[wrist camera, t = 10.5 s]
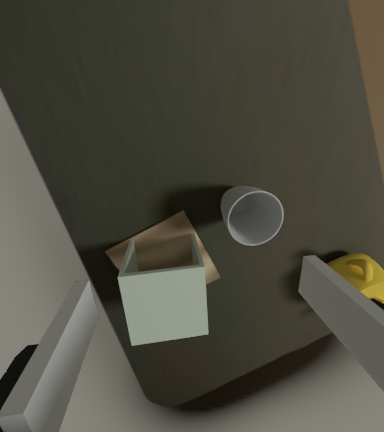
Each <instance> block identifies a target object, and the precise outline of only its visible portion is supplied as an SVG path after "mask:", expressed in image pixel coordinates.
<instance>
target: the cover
mask: <svg viewBox="0 0 384 432" xmlns="http://www.w3.org/2000/svg"><path fill="white" fill-rule="evenodd" d="M191 242H192V256H193V265H191V266H183V267H175V268H167V269H158V270H150V271H142V272H139V270H138V264H137V258H136V252H135V246H134V240H130V242H129V245H128V248H127V251H126V254H125V257H124V260H123V263H122V266H121V269H120V272H119V275H118V282H119V286H120V291H121V296H122V301H123V306H124V311H125V315H126V320H127V325H128V330H129V335H130V340H131V344H132V346H133V345H140V344H147V343H153V342H160V341H167V340H174V339H180V338H187V337H194V336H200V335H207V334H208V317H207V299H206V281H205V266H204V263H203V260H202V256H201V253H200V250H199V247H198V244H197V241H196V238H195V234H194V233H191Z"/></svg>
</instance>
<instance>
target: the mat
mask: <svg viewBox="0 0 384 432" xmlns="http://www.w3.org/2000/svg"><path fill="white" fill-rule="evenodd" d="M191 233H194V234H195V238H196V241H197V244H198V247H199V250H200V253H201V256H202V260H203V263H204V266H205V281H206V284H208V283H210V282H212V281H214V280H216V279H218V278H220V275H219V273H218V272H217V270H216V268H215V266H214V264H213V263H212V261H211V259H210V257H209V255H208V253H207V252H206V250H205V248H204V246H203V244H202V243H201V241H200V239H199V237H198V235H197V234H196V232H195V230H194V228H193V226H192V225H191V223H190V221H189V219H188V217H187V215H186V214H185V212H184V210H182V211H180V212H178V213H176V214H174V215H173V216H171V217H169V218H167V219H165V220H163V221H161V222H159V223H157V224H155V225H153V226H152V227H150V228H148V229H146V230H144V231H142V232H140V233H138V234H136V235H134V236H132V237H130V238H129V239H127V240H125V241H123V242H121V243H119V244H117V245H115V246H113V247H111V248H109V249H107V250H106V251H105V253H106V254H107V255H108V257H109V258H110V259H111V260H112V262H113V263H114V264H115V266H116V267H117V268H118V270H119V271H120V269H121V266H122V263H123V260H124V257H125V254H126V251H127V248H128V245H129V242H130V240H134V246H135V252H136V258H137V264H138V270H139V272H142V271H150V270H158V269H167V268H175V267H183V266H191V265H193V256H192V242H191Z"/></svg>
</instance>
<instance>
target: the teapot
mask: <svg viewBox="0 0 384 432" xmlns="http://www.w3.org/2000/svg"><path fill="white" fill-rule="evenodd" d="M327 265H328V266H329V267H330V268H332V269H333V270H334V271H335V272H336V273H338V274H339V275H340V276H341V277H343V278H344V279H345V280H346V281H348V282H349V283H350V284H351V285H353V286H354V287H355V288H356V289H358V290H359V291H360V292H361V293H363V294H364V295H365V296H366V297H368V298H369V299H372V298H374V299H376V300H378V301H380V302H382V303H384V270H383V269H382V268H381V267H380V266H379V265H378V264H377V263H376V262H375V261H374V260H373V259H371V258H370V257H368V256H367V255H365V254H361V253H351V254H348V255H345V256H342V257H339V258H337V259H335V260H333V261H331V262H329V263H327Z"/></svg>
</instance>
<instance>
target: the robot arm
mask: <svg viewBox="0 0 384 432" xmlns="http://www.w3.org/2000/svg"><path fill="white" fill-rule="evenodd" d="M298 292H299V293H300V294H301V296H302V297H303V298H304V299H305V300H306V301H307V303H308V304H309V305H310V306H311V307H312V308H313V310H314V311H315V312H316V313H317V314H318V315H319V317H320V318H321V319H322V320H323V321H324V322H325V324H326V325H327V326H328V327H329V328H330V329H331V331H332V332H333V333H334V334H335V335H336V336H337V338H338V339H339V340H340V341H341V342H342V343H343V345H344V346H345V347H346V348H347V349H348V350H349V352H350V353H351V354H352V355H353V356H354V358H355V359H356V360H357V361H358V362H359V363H360V365H361V366H362V367H363V368H364V369H365V370H366V372H367V373H368V374H369V375H370V376H371V377H372V379H374V381H375V382H376V383H377V384H378V386H379V387H380V388H381V389H382V390H383V391H384V303H382V302H380V301H378V300H376V299H374V298H372V299H369V298H368V297H366V296H365V295H364V294H363V293H361V292H360V291H359V290H358V289H356V288H355V287H354V286H353V285H351V284H350V283H349V282H348V281H346V280H345V279H344V278H343V277H341V276H340V275H339V274H338V273H336V272H335V271H334V270H333V269H332V268H330V267H329V266H328V265H327V264H325V263H324V262H323V261H322V260H320V259H319V258H318V257H317V256H315V255H311V256H303V263H302V270H301V277H300V283H299V290H298ZM97 319H98V314H97V310H96V306H95V302H94V298H93V294H92V290H91V286H90V281H89V280H84V281H76V282H75V283H74V285H73V286H72V288H71V290H70V291H69V293H68V295H67V297H66V298H65V300H64V302H63V304H62V306H61V307H60V309H59V310H58V312H57V314H56V316H55V317H54V319H53V321H52V323H51V324H50V326H49V328H48V329H47V331H46V333H45V335H44V336H43V338H42V340H41V341H40V343H39V344H36V345H28V346H27V347H25V349H23V350H22V351H21V352H20V353H19V354H18V355H17V356H16V357H15V358H14V360H13V361H12V363H11V364H10V366H9V368H8V369H7V372H6V373H5V374H4V375H3V377H2V378H1V380H0V432H59V430H60V427H61V424H62V421H63V418H64V415H65V412H66V409H67V406H68V404H69V401H70V398H71V395H72V392H73V389H74V386H75V383H76V380H77V377H78V375H79V372H80V369H81V366H82V363H83V360H84V357H85V354H86V351H87V348H88V345H89V342H90V340H91V337H92V334H93V331H94V328H95V325H96V322H97Z"/></svg>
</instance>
